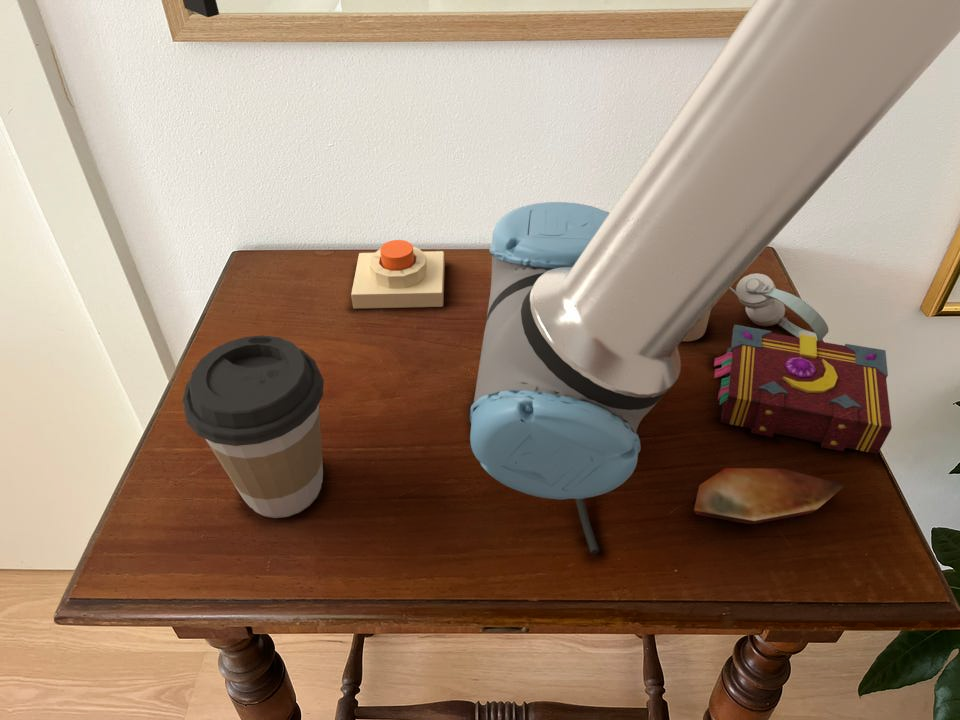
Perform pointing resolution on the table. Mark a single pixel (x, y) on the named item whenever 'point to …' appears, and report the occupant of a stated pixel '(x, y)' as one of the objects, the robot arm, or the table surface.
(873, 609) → the table surface
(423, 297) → the button box
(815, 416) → the decorative book
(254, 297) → the table surface
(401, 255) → the button
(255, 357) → the coffee cup
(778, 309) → the headphones
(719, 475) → the decorative stone
